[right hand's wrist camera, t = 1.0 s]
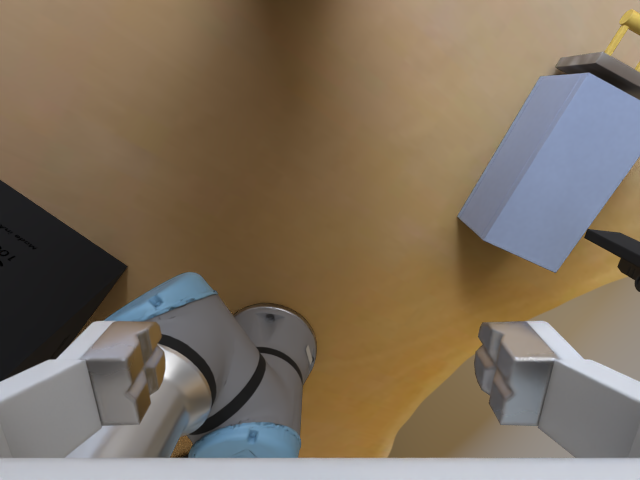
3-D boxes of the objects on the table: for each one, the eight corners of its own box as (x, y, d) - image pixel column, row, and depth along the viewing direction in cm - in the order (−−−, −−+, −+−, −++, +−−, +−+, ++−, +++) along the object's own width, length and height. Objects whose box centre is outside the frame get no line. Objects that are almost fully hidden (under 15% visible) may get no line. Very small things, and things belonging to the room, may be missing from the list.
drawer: (589, 8, 46) (639, -7, 39) (652, 44, 48) (711, 35, 40) (477, 196, 54) (501, 212, 47) (533, 222, 55) (565, 241, 48)
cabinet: (540, 76, 50) (589, 72, 41) (607, 111, 51) (669, 115, 42) (456, 216, 56) (483, 240, 47) (518, 244, 58) (555, 273, 48)
